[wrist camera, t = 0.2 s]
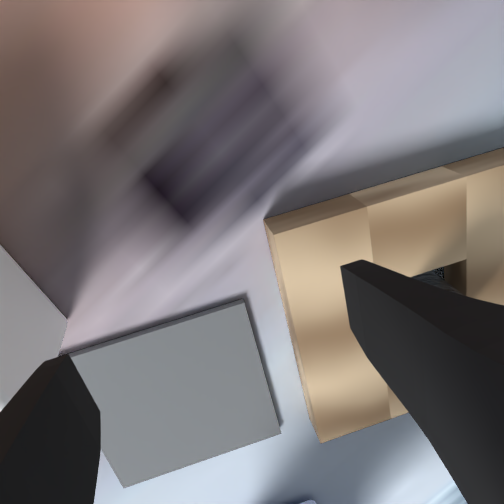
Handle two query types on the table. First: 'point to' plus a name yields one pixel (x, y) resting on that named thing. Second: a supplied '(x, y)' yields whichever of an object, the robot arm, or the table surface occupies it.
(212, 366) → the rubber pad
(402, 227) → the pocket block
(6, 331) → the medicine bottle
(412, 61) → the table surface
